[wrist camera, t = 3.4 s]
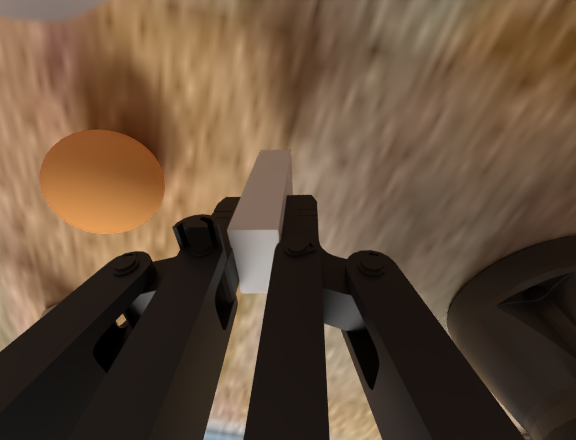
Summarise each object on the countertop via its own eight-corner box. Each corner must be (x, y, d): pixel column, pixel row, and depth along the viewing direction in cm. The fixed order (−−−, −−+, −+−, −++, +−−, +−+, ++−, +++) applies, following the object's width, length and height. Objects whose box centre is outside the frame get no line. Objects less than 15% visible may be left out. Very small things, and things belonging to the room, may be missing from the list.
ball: (164, 115, 15) (101, 149, 11) (189, 201, 18) (149, 255, 14) (73, 119, 16) (-25, 152, 11) (112, 202, 19) (48, 255, 14)
